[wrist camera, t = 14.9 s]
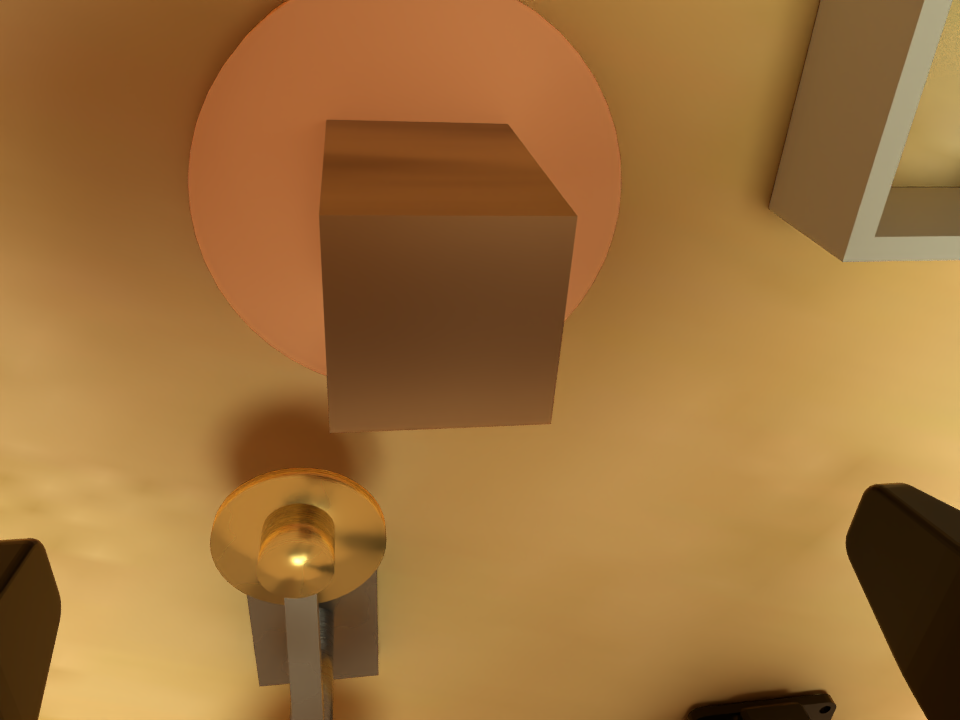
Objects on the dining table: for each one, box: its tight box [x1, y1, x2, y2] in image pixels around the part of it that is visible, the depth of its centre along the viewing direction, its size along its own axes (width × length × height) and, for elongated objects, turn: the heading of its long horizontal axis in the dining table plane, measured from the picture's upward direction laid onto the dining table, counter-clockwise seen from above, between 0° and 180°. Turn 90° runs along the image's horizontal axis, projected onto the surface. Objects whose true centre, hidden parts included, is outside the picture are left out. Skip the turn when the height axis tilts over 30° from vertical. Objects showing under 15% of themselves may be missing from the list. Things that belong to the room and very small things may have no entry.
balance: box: [210, 468, 386, 720], centre depth 23 cm, size 16×4×6 cm, turn 177°
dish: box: [188, 0, 622, 376], centre depth 18 cm, size 10×10×1 cm
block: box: [319, 120, 578, 433], centre depth 15 cm, size 4×4×6 cm
